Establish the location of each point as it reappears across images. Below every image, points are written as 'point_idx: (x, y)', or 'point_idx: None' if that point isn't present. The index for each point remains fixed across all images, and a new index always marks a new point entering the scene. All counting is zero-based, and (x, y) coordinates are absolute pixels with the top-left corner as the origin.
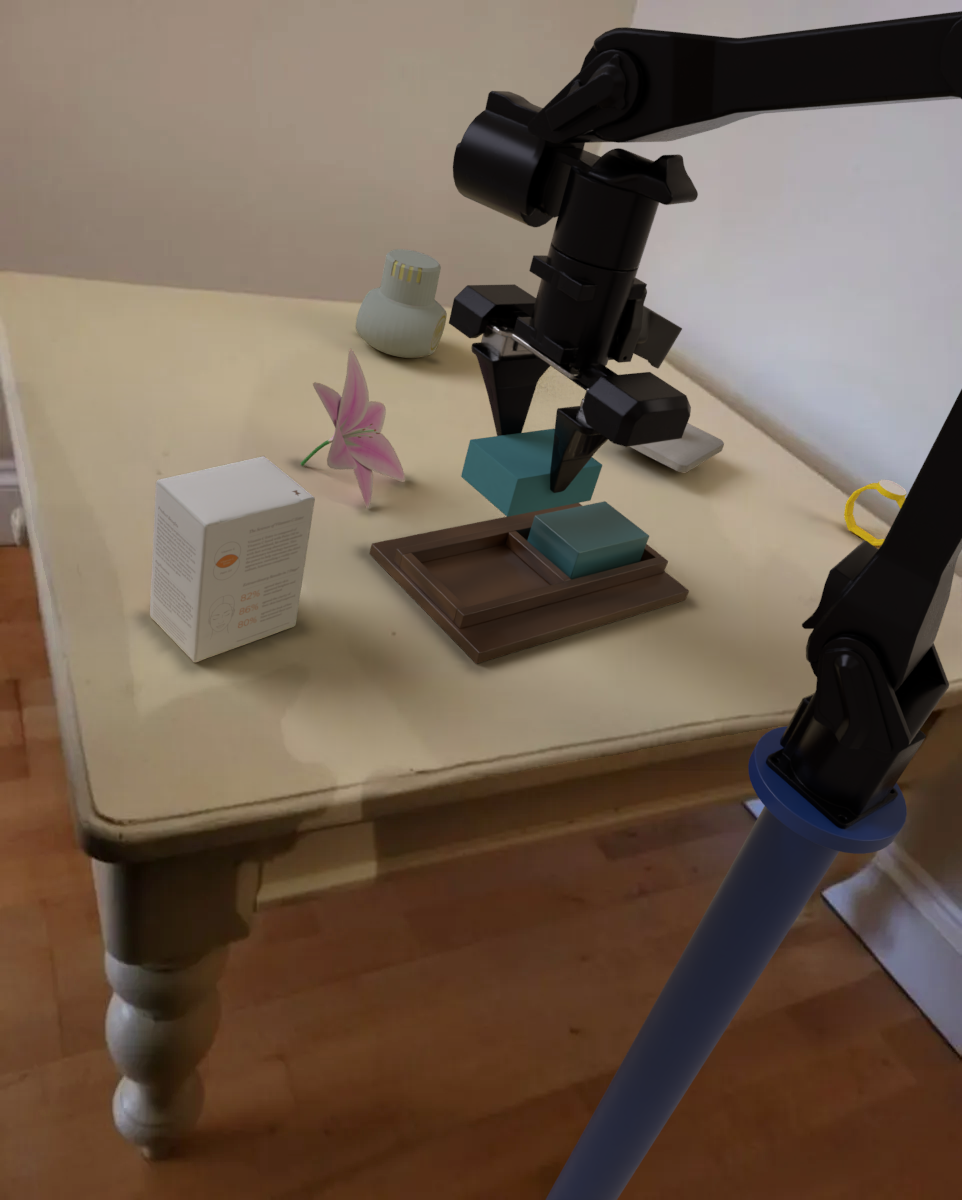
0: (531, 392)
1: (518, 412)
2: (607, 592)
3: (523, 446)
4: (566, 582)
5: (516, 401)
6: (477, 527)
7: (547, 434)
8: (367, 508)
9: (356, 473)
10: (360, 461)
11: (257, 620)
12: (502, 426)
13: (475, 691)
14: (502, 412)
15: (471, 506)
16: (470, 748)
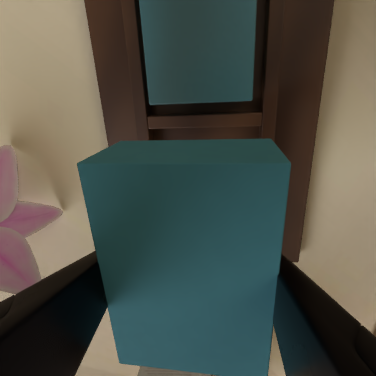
0: (9, 344)
1: (67, 320)
2: (285, 50)
3: (156, 298)
4: (265, 125)
5: (46, 360)
6: (116, 138)
7: (107, 206)
8: (62, 211)
9: (26, 229)
10: (4, 216)
11: (205, 374)
12: (96, 325)
13: (321, 273)
14: (76, 365)
15: (60, 97)
16: (369, 310)
